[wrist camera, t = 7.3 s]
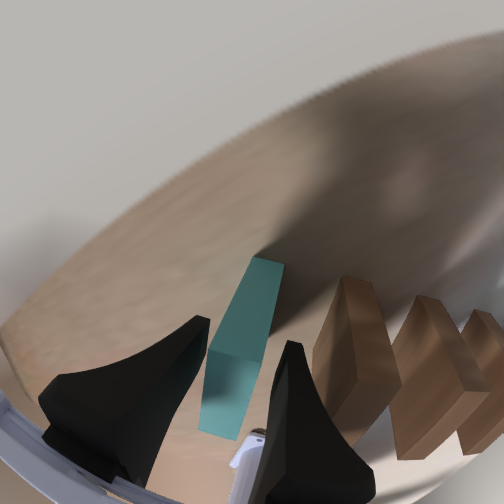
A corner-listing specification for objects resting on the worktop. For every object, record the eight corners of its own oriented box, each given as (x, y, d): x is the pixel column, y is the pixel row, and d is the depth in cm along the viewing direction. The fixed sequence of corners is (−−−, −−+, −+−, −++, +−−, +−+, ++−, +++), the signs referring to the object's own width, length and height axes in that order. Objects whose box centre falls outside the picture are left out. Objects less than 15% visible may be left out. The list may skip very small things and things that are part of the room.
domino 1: (284, 264, 14) (261, 363, 8) (263, 340, 16) (235, 441, 10) (253, 256, 14) (208, 348, 8) (236, 332, 16) (198, 429, 10)
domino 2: (370, 283, 14) (402, 386, 7) (338, 355, 16) (341, 457, 9) (341, 275, 14) (357, 379, 8) (312, 349, 16) (305, 453, 10)
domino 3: (439, 300, 13) (490, 392, 7) (402, 366, 15) (423, 459, 9) (417, 295, 13) (464, 391, 7) (380, 363, 16) (397, 460, 9)
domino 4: (490, 313, 13) (541, 390, 7) (452, 372, 15) (481, 452, 9) (474, 309, 13) (526, 391, 7) (436, 371, 15) (463, 455, 9)
